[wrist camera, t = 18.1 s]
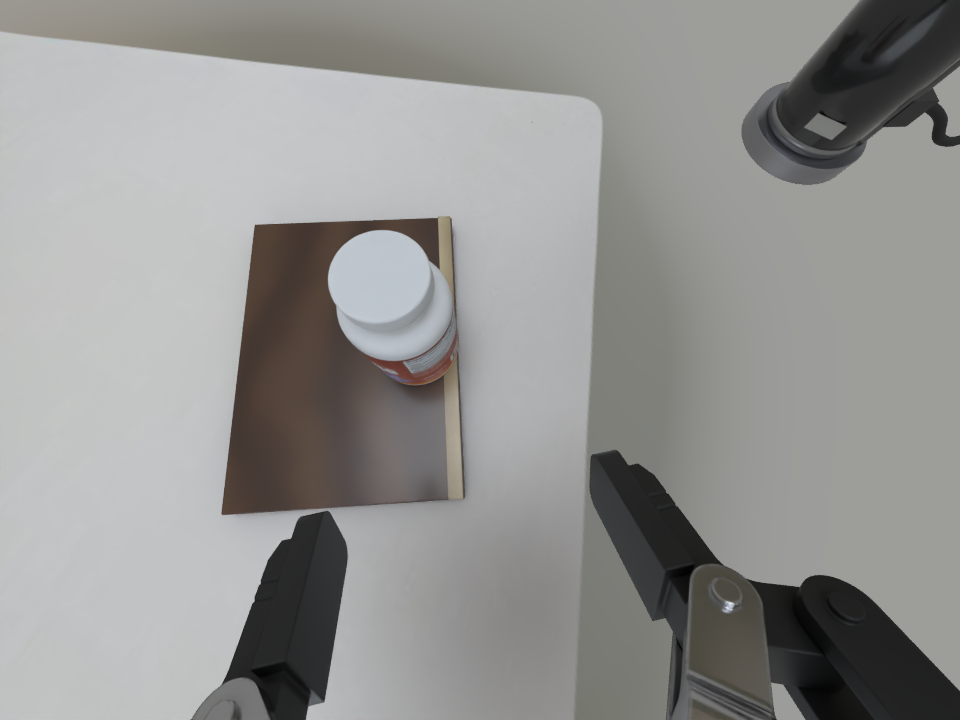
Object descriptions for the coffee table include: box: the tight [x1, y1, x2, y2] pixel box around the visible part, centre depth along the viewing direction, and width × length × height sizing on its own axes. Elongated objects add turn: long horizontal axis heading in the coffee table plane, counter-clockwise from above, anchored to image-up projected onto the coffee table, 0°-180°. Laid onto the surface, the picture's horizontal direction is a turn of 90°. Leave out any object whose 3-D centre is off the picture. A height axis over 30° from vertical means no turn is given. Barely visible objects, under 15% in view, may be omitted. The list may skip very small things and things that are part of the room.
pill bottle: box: [328, 230, 458, 385], centre depth 22 cm, size 6×6×11 cm
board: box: [222, 216, 465, 515], centre depth 27 cm, size 16×22×2 cm
